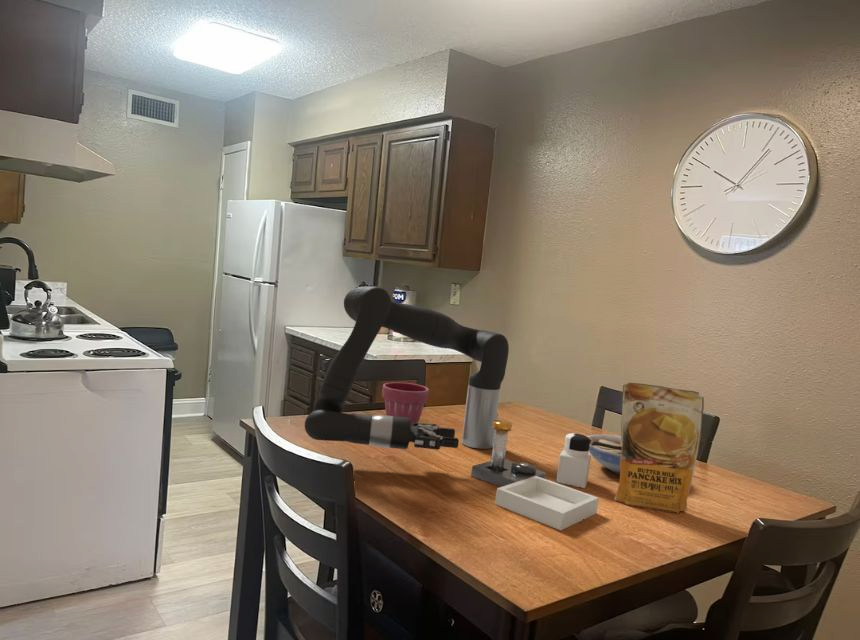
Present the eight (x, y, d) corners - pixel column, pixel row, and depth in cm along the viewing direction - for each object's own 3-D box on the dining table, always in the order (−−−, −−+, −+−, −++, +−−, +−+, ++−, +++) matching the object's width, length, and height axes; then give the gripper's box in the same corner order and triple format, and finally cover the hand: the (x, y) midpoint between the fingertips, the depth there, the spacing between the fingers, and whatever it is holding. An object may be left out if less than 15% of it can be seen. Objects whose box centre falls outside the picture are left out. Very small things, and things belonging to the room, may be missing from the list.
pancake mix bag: (605, 493, 149) (621, 379, 147) (687, 506, 146) (704, 390, 144) (609, 503, 142) (626, 383, 140) (695, 517, 139) (713, 395, 137)
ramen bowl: (674, 472, 174) (678, 444, 173) (669, 495, 153) (673, 463, 153) (585, 453, 184) (589, 426, 184) (569, 471, 163) (573, 441, 163)
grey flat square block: (501, 467, 160) (503, 452, 159) (544, 482, 151) (546, 466, 151) (471, 475, 150) (473, 459, 150) (515, 492, 141) (518, 475, 141)
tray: (533, 490, 145) (535, 475, 144) (596, 513, 134) (598, 497, 134) (494, 504, 133) (496, 488, 132) (560, 530, 122) (562, 513, 122)
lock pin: (493, 474, 153) (500, 419, 152) (508, 479, 150) (515, 423, 149) (482, 477, 150) (489, 421, 149) (497, 483, 147) (505, 425, 146)
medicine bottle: (587, 480, 157) (593, 435, 156) (585, 489, 150) (591, 441, 149) (559, 475, 159) (565, 429, 158) (555, 482, 152) (562, 435, 152)
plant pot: (369, 424, 188) (373, 383, 187) (397, 419, 199) (401, 380, 198) (406, 436, 180) (411, 393, 179) (433, 429, 191) (438, 389, 190)
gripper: (391, 423, 140) (461, 430, 141) (391, 409, 154) (455, 416, 155) (387, 455, 141) (457, 462, 142) (388, 439, 155) (451, 445, 156)
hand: (456, 438), depth 149 cm, fingers open, 8 cm apart
